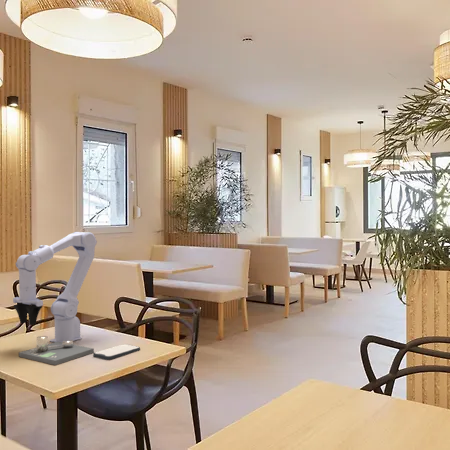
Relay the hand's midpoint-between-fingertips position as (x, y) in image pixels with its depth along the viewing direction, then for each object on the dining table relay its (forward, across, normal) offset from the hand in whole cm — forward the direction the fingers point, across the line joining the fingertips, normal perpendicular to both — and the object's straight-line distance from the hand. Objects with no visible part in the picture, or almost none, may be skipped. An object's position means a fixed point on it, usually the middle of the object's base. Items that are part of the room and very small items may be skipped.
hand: (28, 323), depth 181 cm
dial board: (+9, +15, 0) cm, 18 cm away
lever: (+8, +13, 0) cm, 15 cm away
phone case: (+10, +32, +13) cm, 36 cm away
